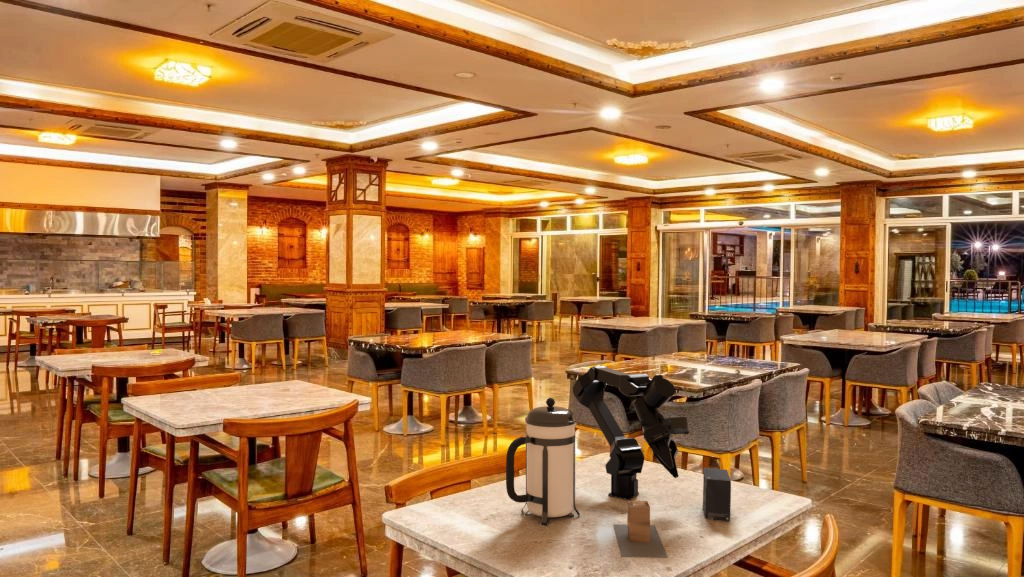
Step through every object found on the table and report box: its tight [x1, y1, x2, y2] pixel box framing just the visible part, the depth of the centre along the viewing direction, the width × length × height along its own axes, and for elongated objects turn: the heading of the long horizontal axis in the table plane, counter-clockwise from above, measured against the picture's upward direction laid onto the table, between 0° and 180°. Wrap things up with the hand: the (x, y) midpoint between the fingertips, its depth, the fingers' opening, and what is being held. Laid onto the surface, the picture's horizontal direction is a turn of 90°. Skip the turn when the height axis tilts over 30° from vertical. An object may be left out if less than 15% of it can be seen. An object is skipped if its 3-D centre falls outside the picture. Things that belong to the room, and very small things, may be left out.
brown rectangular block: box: [626, 500, 651, 543], centre depth 163 cm, size 5×5×8 cm
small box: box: [701, 467, 732, 522], centre depth 181 cm, size 11×6×10 cm, turn 168°
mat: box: [613, 523, 669, 559], centre depth 162 cm, size 20×10×1 cm, turn 177°
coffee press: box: [505, 397, 581, 527], centre depth 178 cm, size 17×16×30 cm
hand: (674, 472), depth 176 cm, fingers open, 9 cm apart
